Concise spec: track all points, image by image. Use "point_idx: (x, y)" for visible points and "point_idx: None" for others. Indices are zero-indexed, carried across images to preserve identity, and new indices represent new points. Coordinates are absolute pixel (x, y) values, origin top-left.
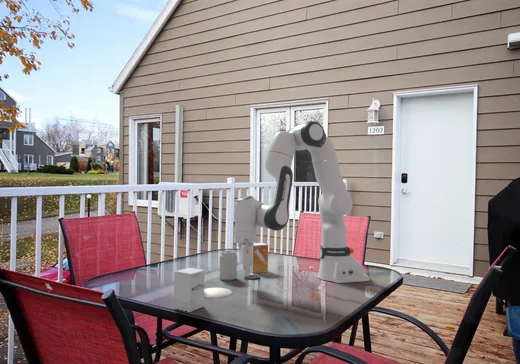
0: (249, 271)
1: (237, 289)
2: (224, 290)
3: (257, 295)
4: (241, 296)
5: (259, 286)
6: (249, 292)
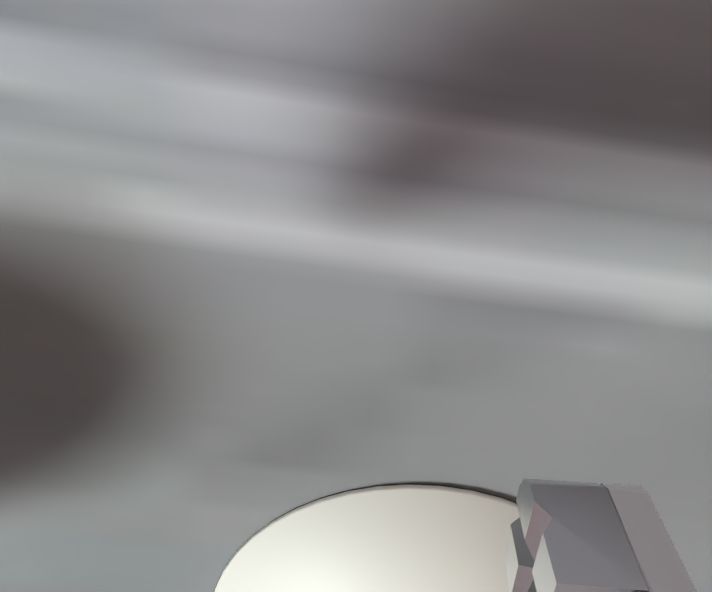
0: (692, 585)
1: (279, 403)
2: (346, 559)
3: (691, 146)
4: (656, 395)
5: (85, 5)
6: (473, 256)
